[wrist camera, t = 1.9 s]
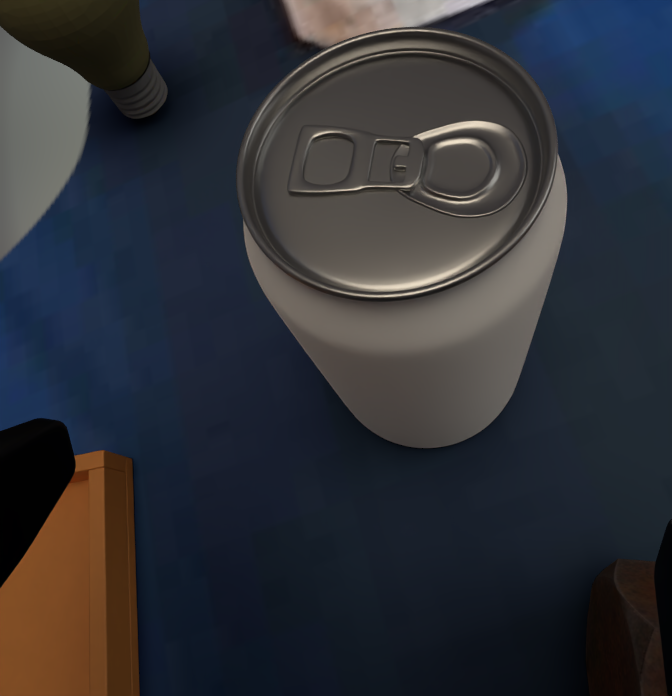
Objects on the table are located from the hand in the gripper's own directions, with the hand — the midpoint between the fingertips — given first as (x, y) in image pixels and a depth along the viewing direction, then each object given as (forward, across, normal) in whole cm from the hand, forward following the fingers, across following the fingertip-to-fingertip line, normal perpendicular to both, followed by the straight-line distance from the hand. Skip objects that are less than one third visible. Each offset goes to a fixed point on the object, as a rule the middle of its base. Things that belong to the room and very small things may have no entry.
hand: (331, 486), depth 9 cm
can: (+13, 0, +5) cm, 13 cm away
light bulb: (+20, +14, -3) cm, 25 cm away
